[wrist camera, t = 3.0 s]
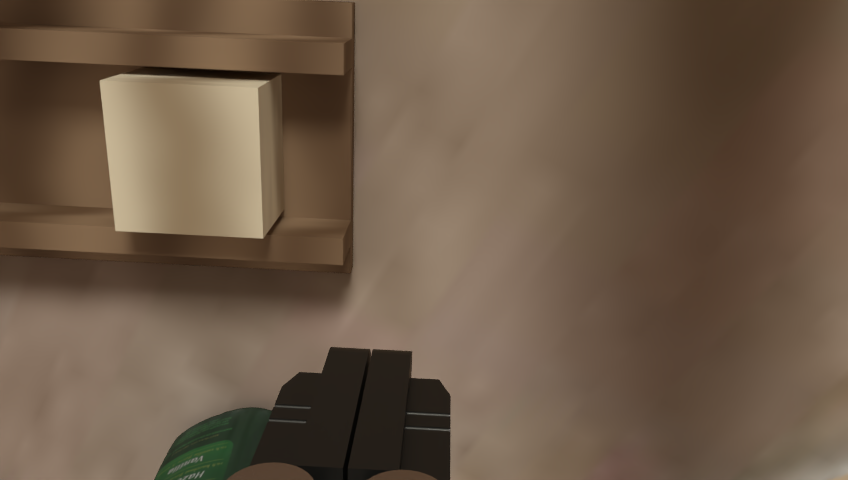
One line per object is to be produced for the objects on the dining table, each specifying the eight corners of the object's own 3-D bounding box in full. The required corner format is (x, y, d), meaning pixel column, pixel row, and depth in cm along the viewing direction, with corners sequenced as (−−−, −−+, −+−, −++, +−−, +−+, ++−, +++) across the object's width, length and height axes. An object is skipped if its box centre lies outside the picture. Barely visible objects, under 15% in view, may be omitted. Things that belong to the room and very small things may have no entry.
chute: (354, 2, 31) (343, 5, 28) (352, 266, 36) (342, 295, 32) (-295, -27, 32) (-375, -26, 29) (-225, 236, 36) (-288, 261, 33)
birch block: (281, 74, 32) (257, 87, 28) (284, 208, 34) (263, 238, 30) (141, 67, 32) (99, 80, 28) (152, 202, 34) (115, 230, 30)
